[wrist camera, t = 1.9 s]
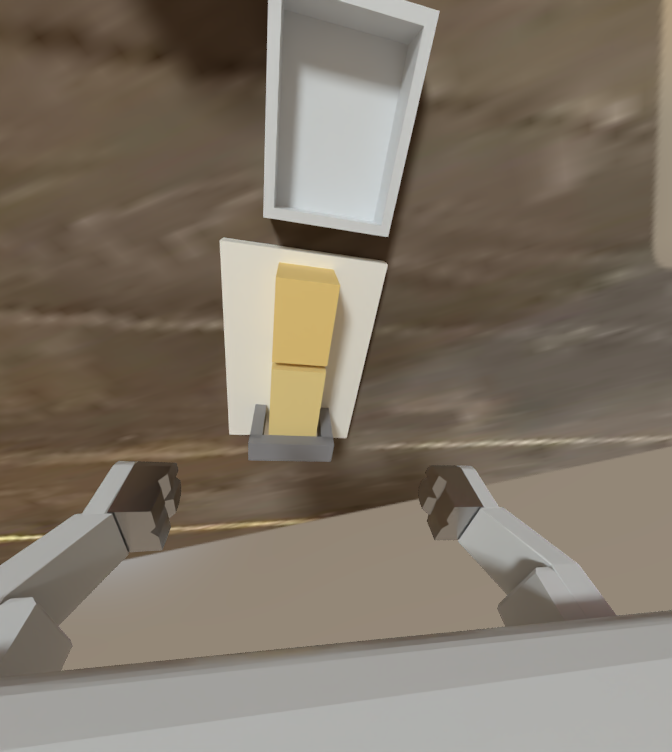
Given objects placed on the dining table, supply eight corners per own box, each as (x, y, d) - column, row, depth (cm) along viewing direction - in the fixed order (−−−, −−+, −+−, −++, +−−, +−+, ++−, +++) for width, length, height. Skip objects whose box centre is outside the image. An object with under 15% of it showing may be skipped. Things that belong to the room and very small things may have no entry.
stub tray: (418, 36, 17) (439, 11, 14) (377, 230, 22) (387, 237, 19) (273, -6, 15) (269, -42, 13) (267, 212, 21) (263, 217, 18)
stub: (333, 269, 22) (340, 285, 19) (323, 341, 25) (327, 366, 22) (279, 262, 21) (275, 277, 18) (275, 337, 24) (271, 362, 21)
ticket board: (383, 260, 23) (409, 283, 18) (344, 430, 33) (354, 476, 28) (223, 237, 21) (199, 255, 16) (231, 426, 31) (218, 475, 25)
